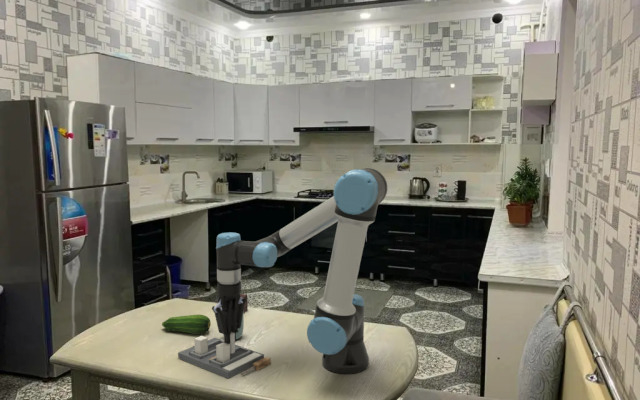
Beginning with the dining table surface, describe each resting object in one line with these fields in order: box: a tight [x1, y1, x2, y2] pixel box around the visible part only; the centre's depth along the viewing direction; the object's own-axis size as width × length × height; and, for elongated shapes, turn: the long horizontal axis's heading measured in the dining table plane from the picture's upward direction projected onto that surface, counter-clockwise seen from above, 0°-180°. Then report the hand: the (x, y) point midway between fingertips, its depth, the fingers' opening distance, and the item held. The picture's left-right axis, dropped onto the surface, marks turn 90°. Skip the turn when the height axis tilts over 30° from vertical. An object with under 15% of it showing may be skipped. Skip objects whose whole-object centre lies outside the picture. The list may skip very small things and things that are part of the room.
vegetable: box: [161, 314, 212, 335], centre depth 185 cm, size 7×7×20 cm
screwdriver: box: [240, 356, 272, 376], centre depth 154 cm, size 12×2×2 cm, turn 143°
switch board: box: [177, 337, 265, 380], centre depth 161 cm, size 24×16×3 cm, turn 54°
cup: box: [222, 313, 245, 341], centre depth 178 cm, size 8×8×10 cm
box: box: [240, 293, 249, 314], centre depth 207 cm, size 6×6×7 cm
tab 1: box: [193, 335, 209, 355], centre depth 160 cm, size 3×3×5 cm
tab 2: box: [216, 343, 230, 363], centre depth 155 cm, size 3×3×5 cm
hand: (230, 351), depth 158 cm, fingers closed
